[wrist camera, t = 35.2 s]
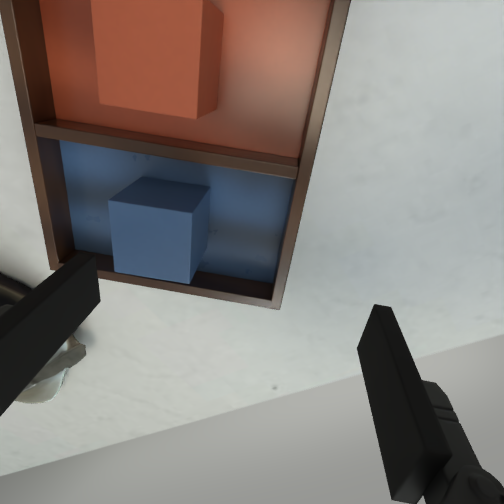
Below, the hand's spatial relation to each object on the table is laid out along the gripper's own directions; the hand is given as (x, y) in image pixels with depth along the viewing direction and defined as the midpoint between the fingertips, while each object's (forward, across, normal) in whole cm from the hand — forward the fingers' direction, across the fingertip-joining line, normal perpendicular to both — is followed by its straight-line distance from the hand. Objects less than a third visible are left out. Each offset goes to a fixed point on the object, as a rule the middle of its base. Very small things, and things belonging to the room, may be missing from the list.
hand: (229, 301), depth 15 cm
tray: (+10, -6, +5) cm, 13 cm away
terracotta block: (+10, -6, +10) cm, 15 cm away
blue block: (+10, -6, 0) cm, 11 cm away
